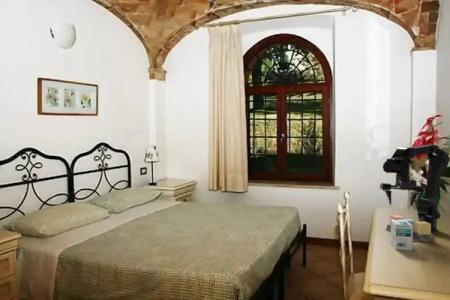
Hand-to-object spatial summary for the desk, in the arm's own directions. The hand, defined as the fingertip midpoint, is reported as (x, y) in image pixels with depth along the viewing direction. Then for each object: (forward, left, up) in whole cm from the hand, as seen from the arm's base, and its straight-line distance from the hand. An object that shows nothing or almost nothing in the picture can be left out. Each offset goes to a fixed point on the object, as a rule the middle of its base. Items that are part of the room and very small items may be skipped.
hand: (400, 205), depth 185 cm
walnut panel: (-3, +3, -14) cm, 14 cm away
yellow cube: (-5, +10, -11) cm, 16 cm away
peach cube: (0, -3, -11) cm, 11 cm away
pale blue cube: (-1, +4, -11) cm, 12 cm away
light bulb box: (+10, +21, -14) cm, 27 cm away
